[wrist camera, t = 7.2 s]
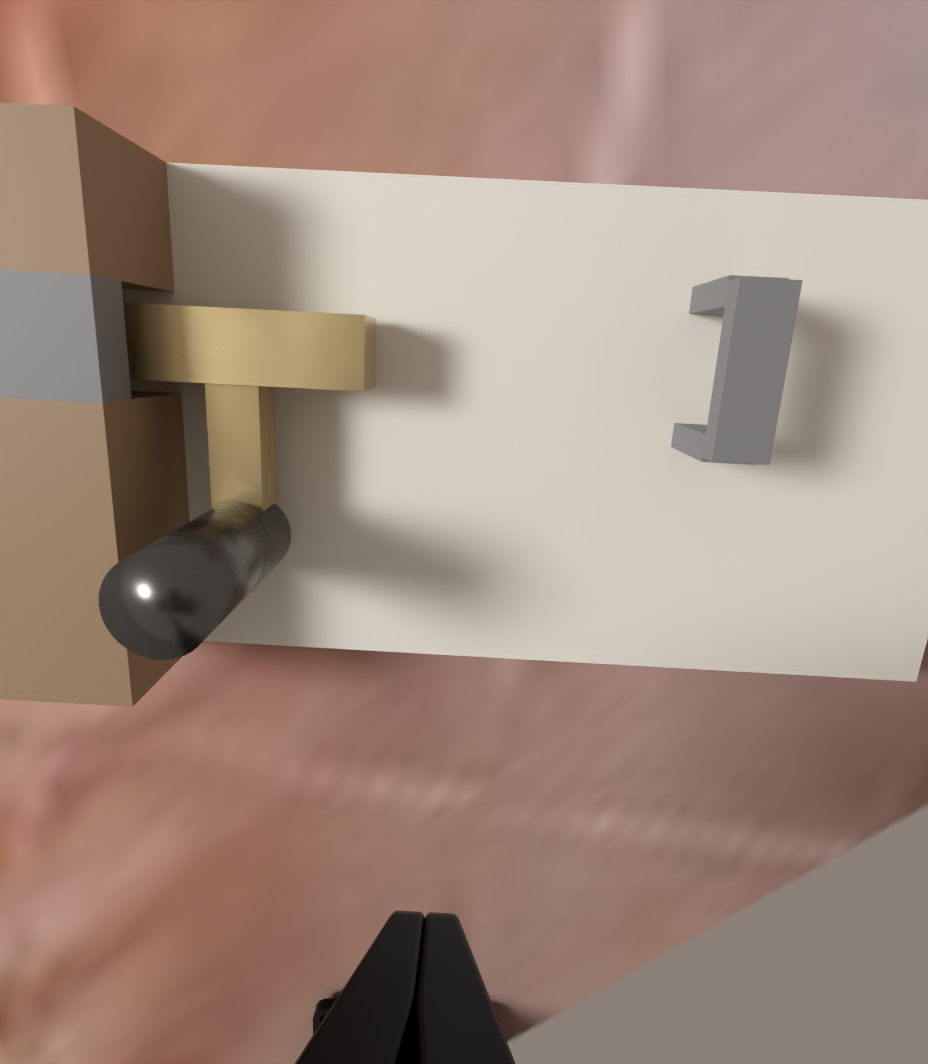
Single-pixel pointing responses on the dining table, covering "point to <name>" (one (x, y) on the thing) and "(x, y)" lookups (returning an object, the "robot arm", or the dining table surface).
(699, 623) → the door board
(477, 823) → the dining table surface
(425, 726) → the dining table surface
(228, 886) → the dining table surface
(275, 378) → the bolt
